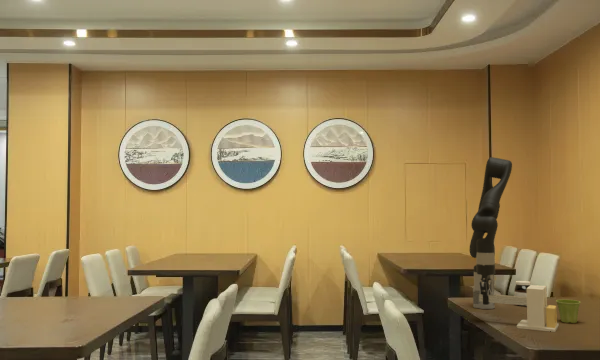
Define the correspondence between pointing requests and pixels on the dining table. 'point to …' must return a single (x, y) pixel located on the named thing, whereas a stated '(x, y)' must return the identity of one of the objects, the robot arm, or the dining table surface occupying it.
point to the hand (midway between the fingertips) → (486, 303)
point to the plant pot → (568, 310)
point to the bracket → (536, 310)
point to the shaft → (499, 299)
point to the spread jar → (521, 289)
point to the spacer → (551, 316)
